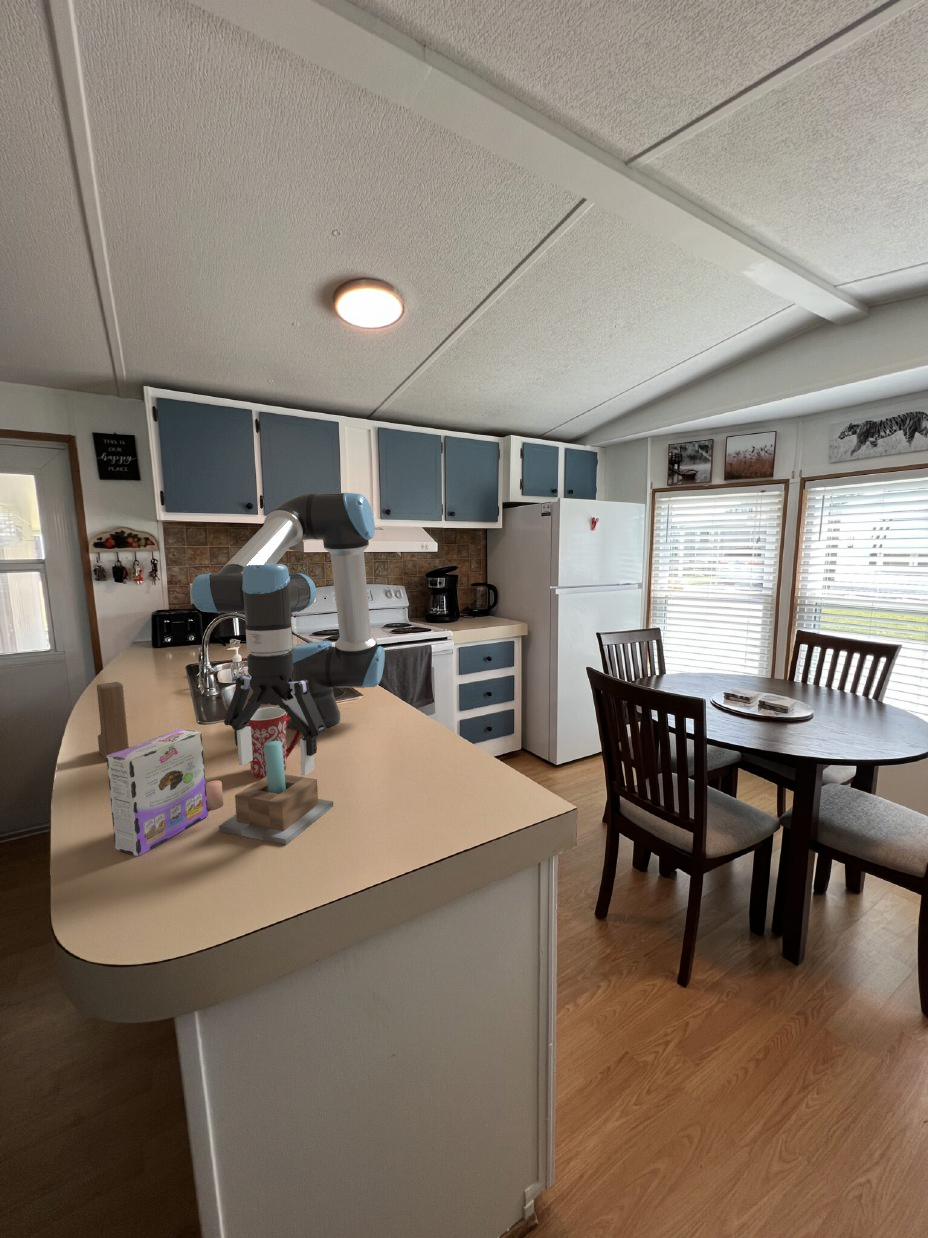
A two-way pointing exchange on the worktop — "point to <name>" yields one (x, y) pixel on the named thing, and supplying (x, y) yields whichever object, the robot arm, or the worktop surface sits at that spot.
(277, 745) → the long pin
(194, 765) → the candy box
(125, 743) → the wooden block
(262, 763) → the mug
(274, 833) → the square wooden frame
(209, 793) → the light brown oval shape
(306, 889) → the worktop surface
